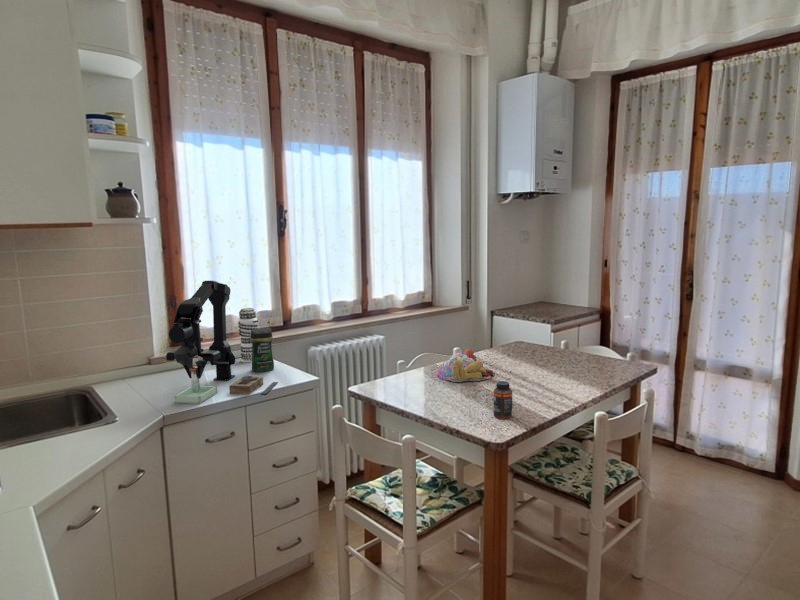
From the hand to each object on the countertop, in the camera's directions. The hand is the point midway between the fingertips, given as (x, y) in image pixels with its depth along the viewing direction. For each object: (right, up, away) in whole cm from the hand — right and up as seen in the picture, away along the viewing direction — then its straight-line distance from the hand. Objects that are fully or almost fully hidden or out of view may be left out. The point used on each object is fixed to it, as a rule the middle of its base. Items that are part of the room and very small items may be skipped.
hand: (195, 378), depth 181 cm
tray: (0, -7, +1) cm, 8 cm away
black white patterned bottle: (+4, 0, +54) cm, 54 cm away
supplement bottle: (+109, -9, -23) cm, 111 cm away
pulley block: (+16, -6, +11) cm, 20 cm away
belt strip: (+25, -6, +10) cm, 27 cm away
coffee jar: (+15, -2, +37) cm, 40 cm away
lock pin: (0, -5, +1) cm, 5 cm away
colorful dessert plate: (+102, -3, +24) cm, 105 cm away
